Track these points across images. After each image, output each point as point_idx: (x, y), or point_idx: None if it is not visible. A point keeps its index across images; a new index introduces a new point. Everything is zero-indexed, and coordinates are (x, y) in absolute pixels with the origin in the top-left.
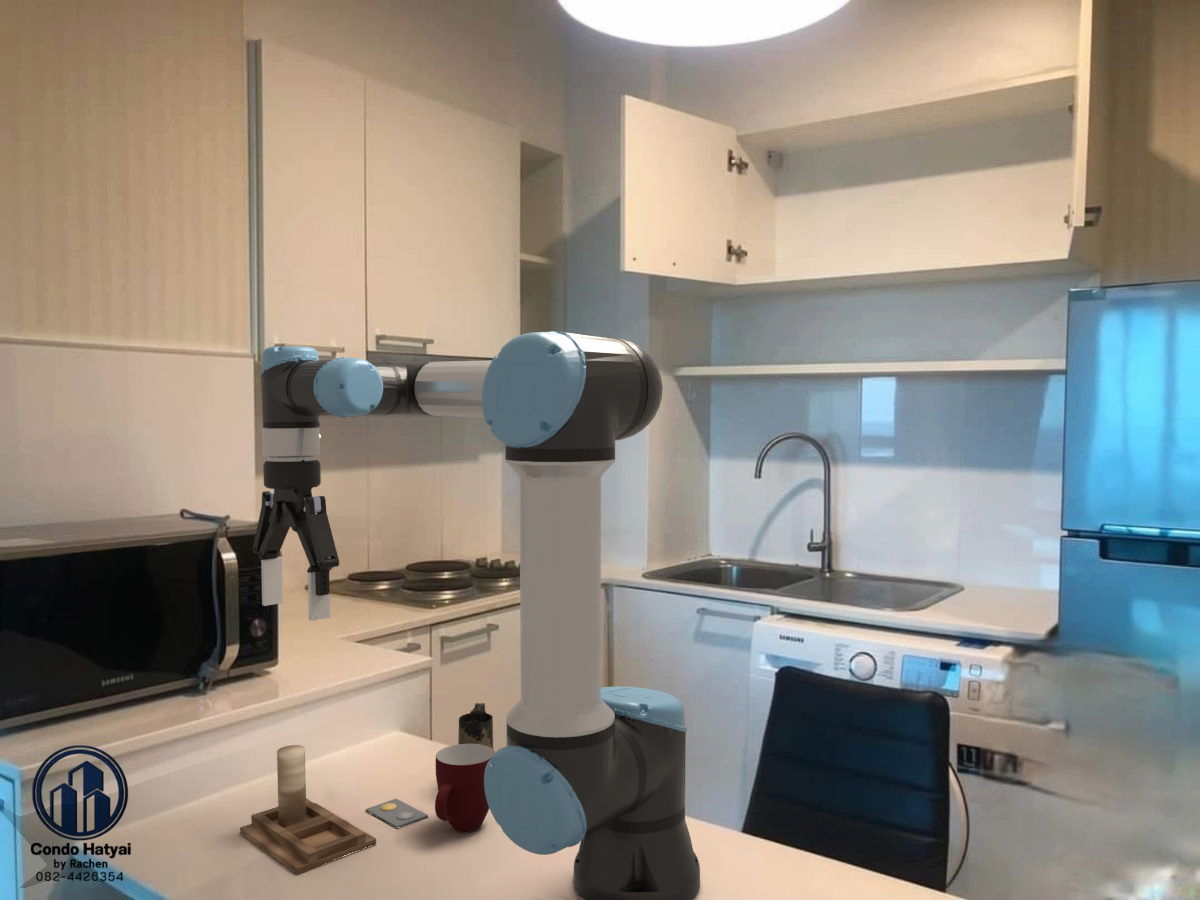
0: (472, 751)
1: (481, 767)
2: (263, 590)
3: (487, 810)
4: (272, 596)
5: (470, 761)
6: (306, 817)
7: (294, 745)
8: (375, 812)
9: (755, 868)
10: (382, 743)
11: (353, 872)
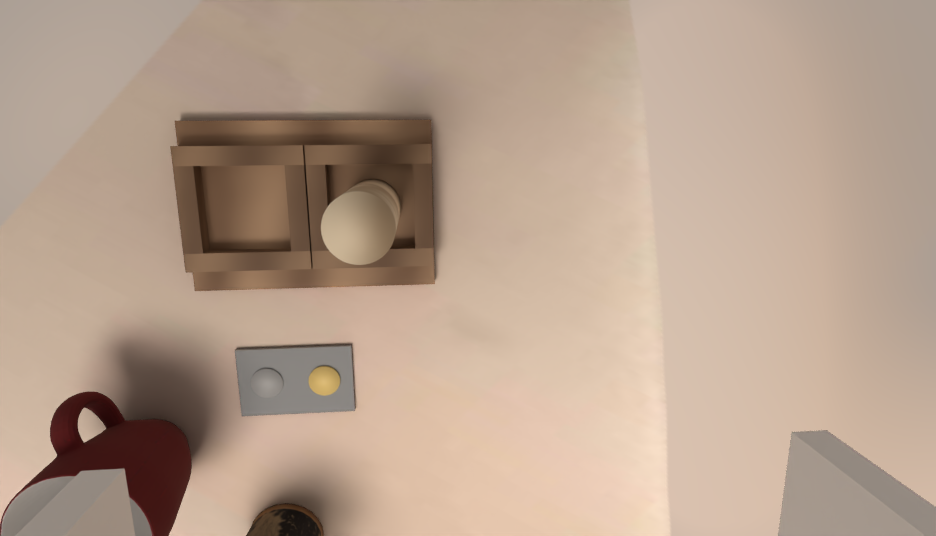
0: None
1: (8, 530)
2: (892, 497)
3: None
4: (824, 522)
5: None
6: None
7: (385, 251)
8: (322, 351)
9: None
10: (632, 523)
11: (120, 202)
